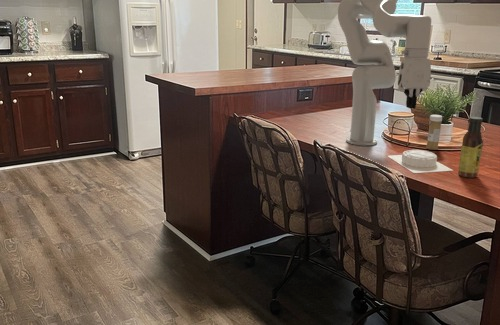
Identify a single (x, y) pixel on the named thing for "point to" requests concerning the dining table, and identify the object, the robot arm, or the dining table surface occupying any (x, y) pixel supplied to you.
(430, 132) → the sprinkles bottle
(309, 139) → the dining table surface
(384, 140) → the dining table surface
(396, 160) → the letter sheet
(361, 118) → the robot arm
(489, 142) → the dining table surface
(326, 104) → the dining table surface
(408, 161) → the cheese wheel
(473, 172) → the sauce bottle
